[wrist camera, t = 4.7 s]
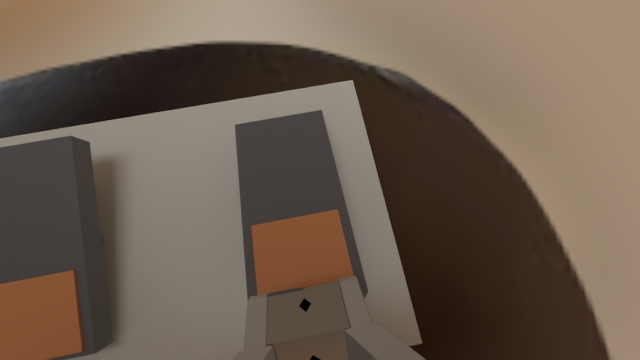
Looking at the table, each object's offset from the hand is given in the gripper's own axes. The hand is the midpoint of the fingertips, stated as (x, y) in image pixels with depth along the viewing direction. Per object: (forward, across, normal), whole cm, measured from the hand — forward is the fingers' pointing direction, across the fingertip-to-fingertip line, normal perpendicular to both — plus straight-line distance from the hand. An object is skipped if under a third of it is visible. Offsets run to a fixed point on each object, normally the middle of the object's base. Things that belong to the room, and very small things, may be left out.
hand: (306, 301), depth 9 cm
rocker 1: (+7, +11, +1) cm, 13 cm away
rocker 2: (+7, 0, +1) cm, 7 cm away
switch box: (+13, +10, +7) cm, 18 cm away
